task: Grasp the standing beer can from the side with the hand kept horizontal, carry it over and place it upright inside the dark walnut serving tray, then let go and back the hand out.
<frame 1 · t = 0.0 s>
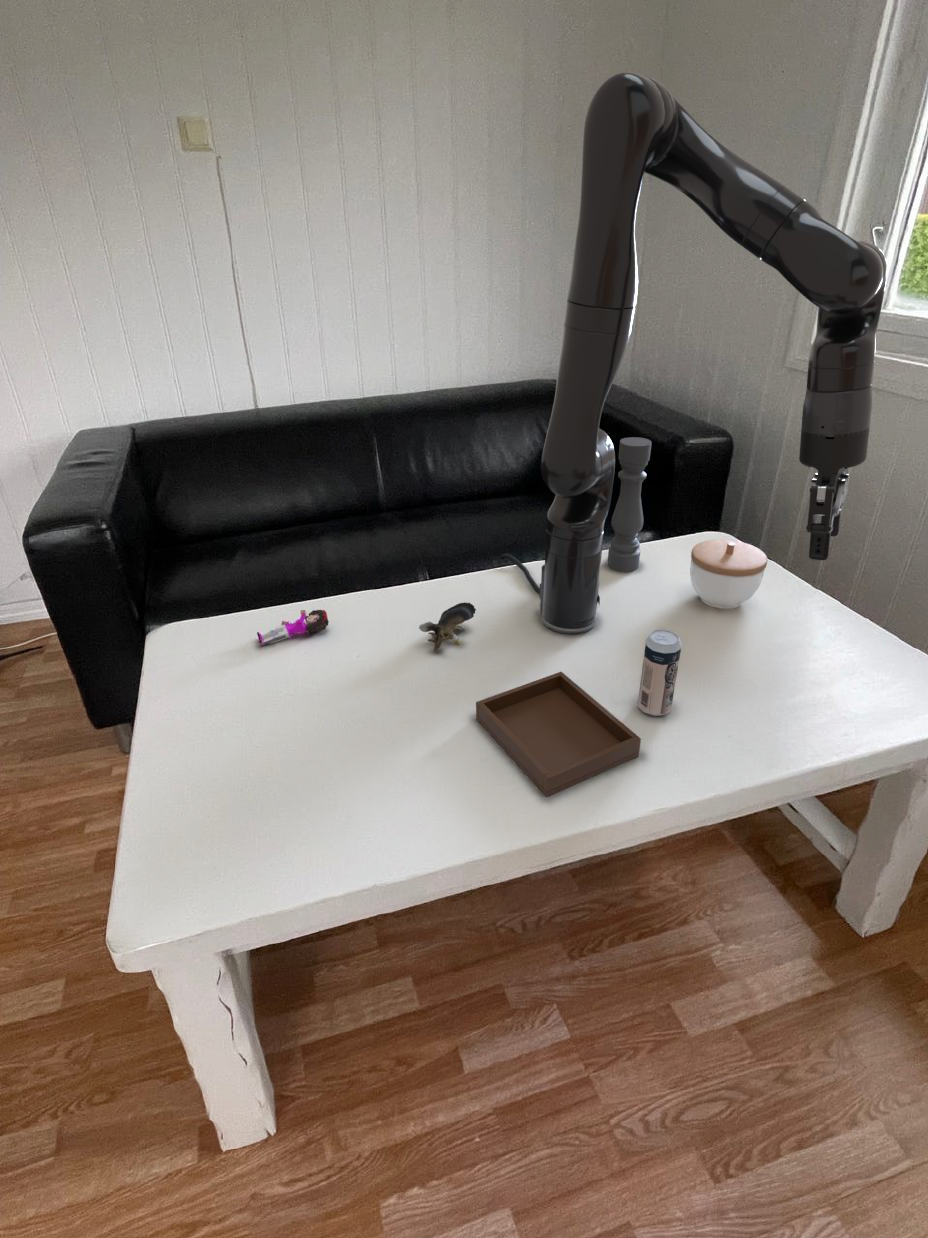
hand: (823, 546, 93), 22 cm above the table, tool pointing down, fingers open, 8 cm apart
character figurine: (294, 636, 119), on the table
tray: (554, 736, 95), on the table
brown irregular figure: (449, 641, 117), on the table
candle holder: (622, 566, 140), on the table
lidded bowl: (720, 600, 127), on the table
beer can: (653, 708, 100), on the table
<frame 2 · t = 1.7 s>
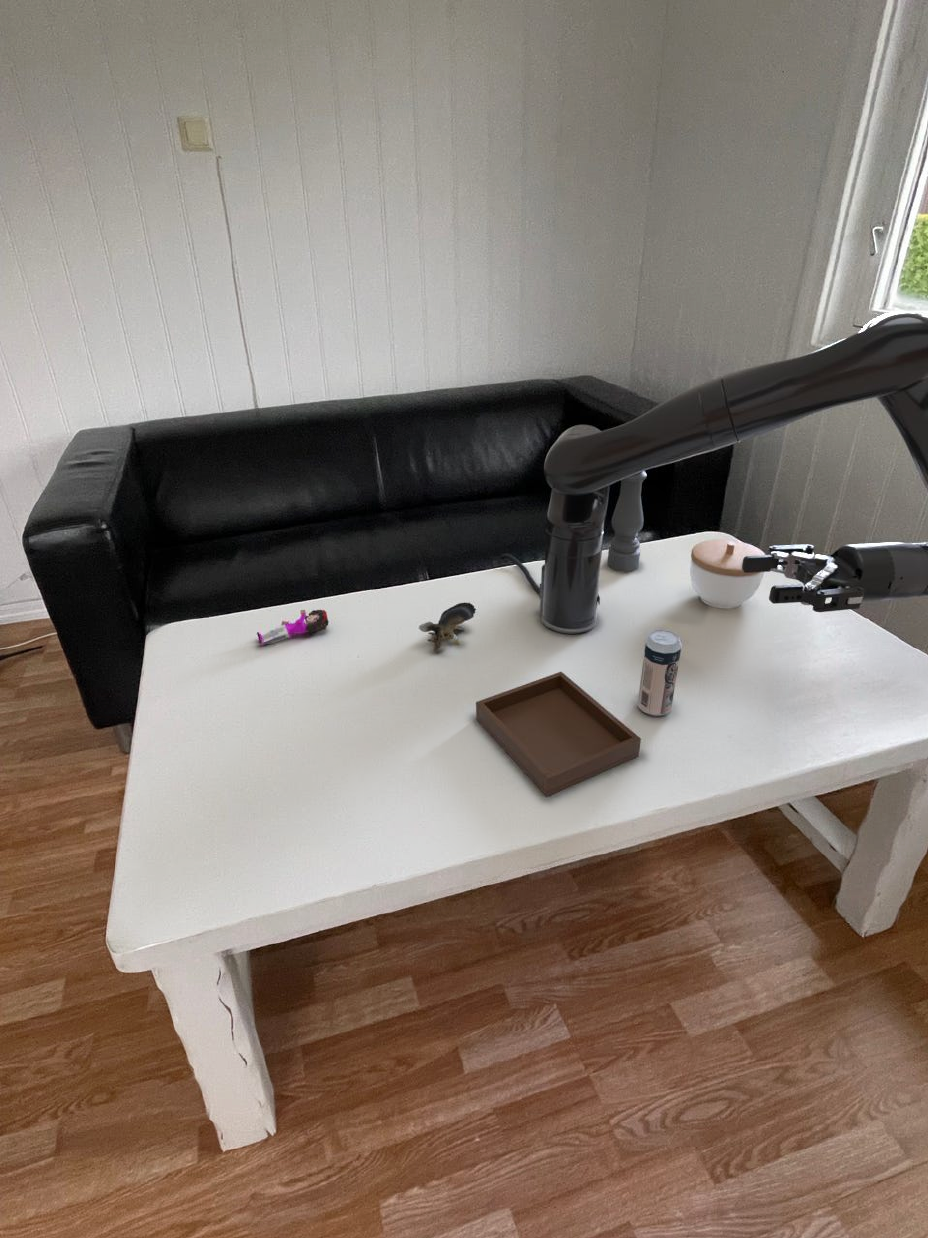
hand: (756, 579, 90), 20 cm above the table, tool horizontal, fingers open, 8 cm apart
nothing on the table moved.
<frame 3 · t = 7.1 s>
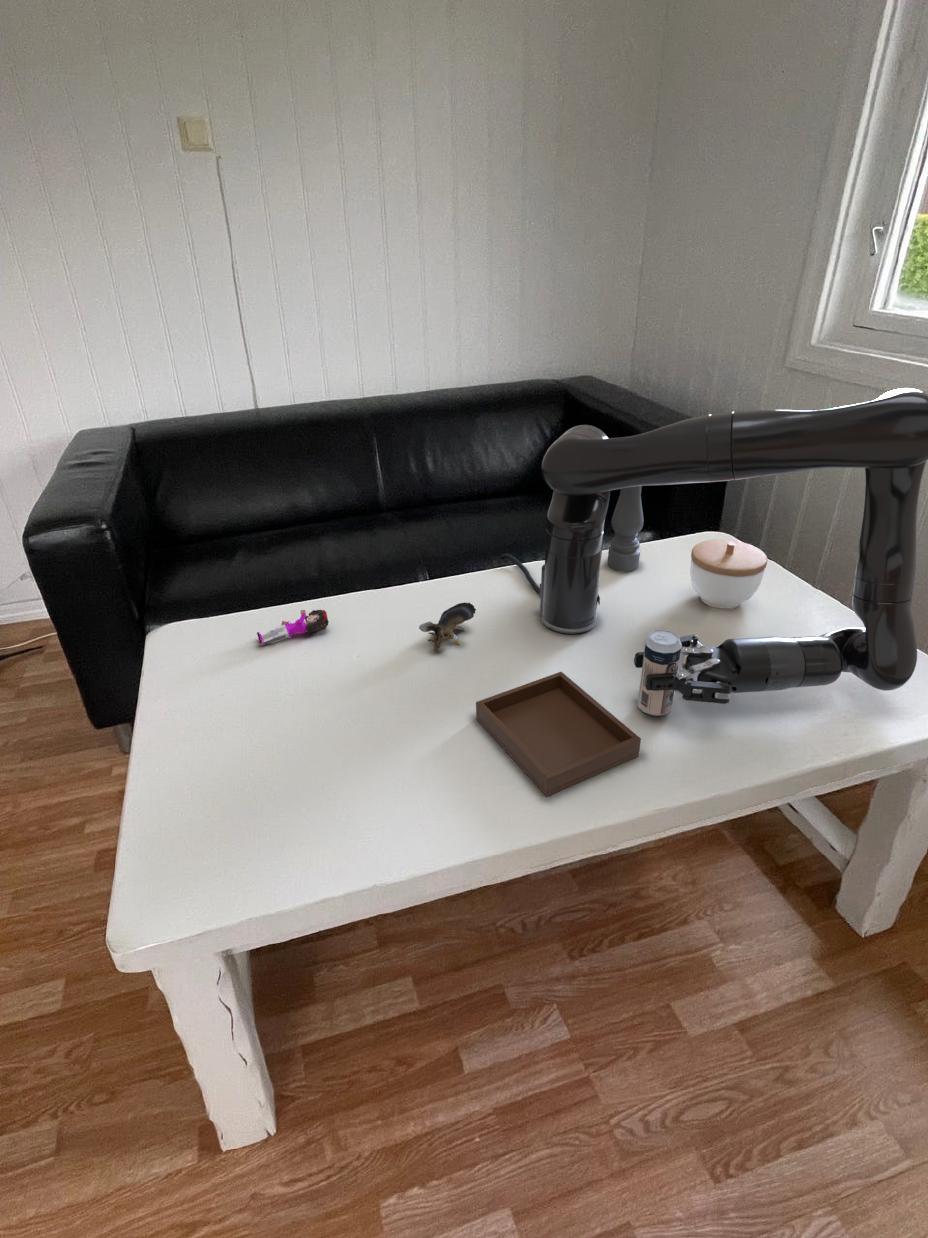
hand: (640, 671, 97), 7 cm above the table, tool horizontal, fingers closed on beer can, 4 cm apart
beer can: (653, 708, 100), on the table, touching gripper
everything else where it was.
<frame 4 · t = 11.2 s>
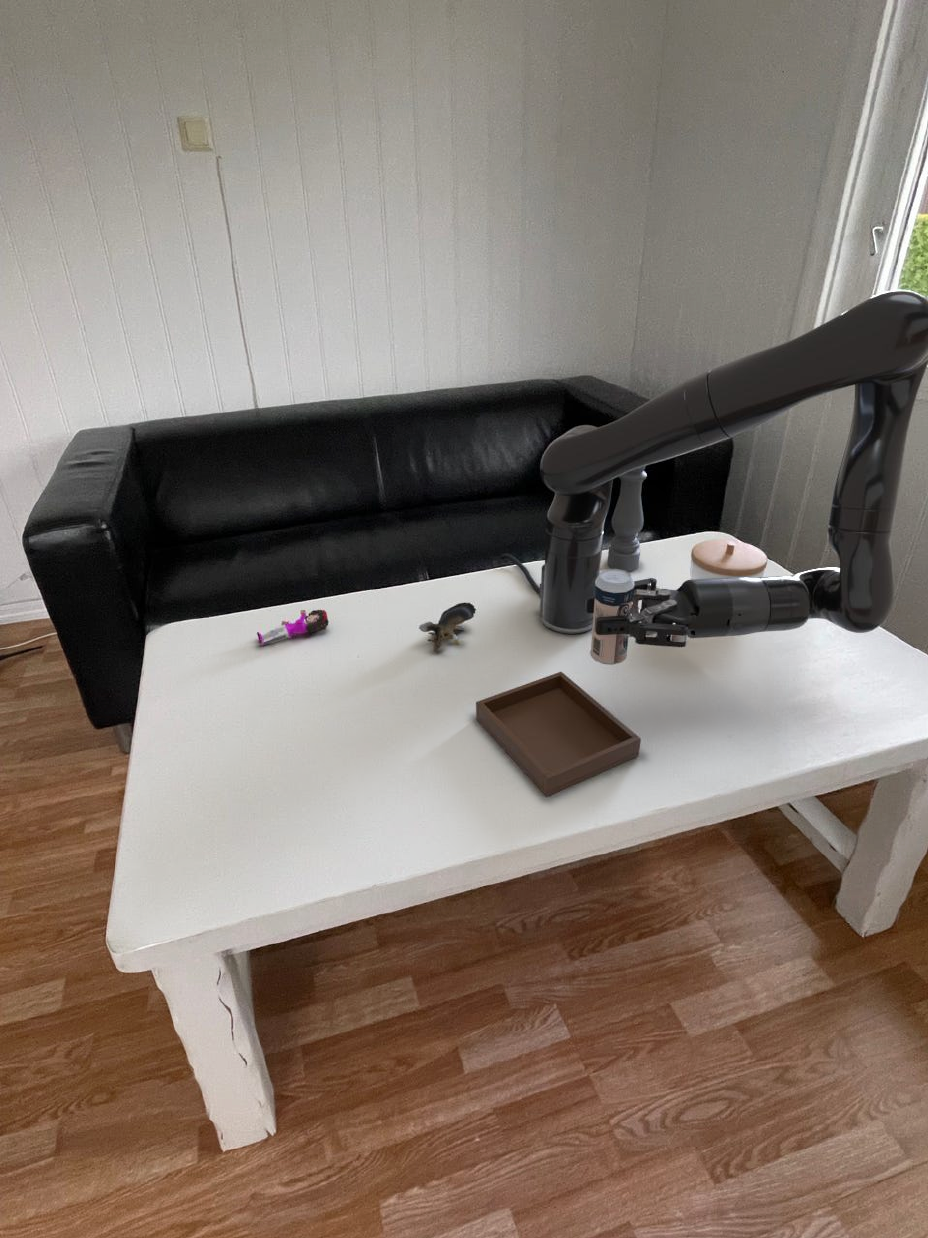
hand: (591, 615, 88), 18 cm above the table, tool horizontal, fingers closed on beer can, 4 cm apart
beer can: (608, 658, 92), point 11 cm above the table, touching gripper
everything else where it was.
when the fingers open (7 cm above the table, at t = 15.6 s): beer can stays where it is, resting on tray.
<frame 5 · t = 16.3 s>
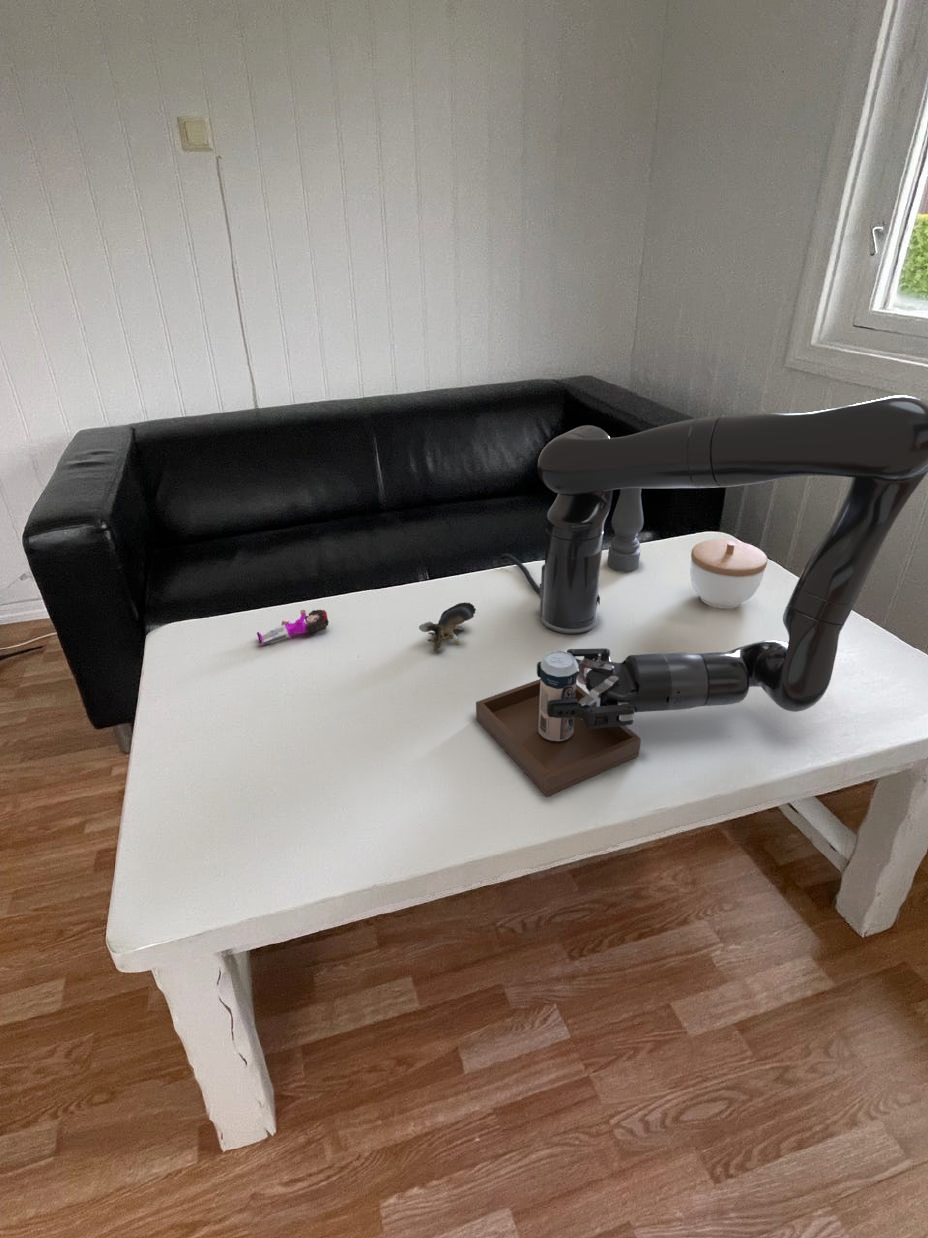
hand: (542, 688, 91), 8 cm above the table, tool horizontal, fingers open, 8 cm apart
beer can: (555, 733, 95), point 1 cm above the table, touching tray
everything else where it was.
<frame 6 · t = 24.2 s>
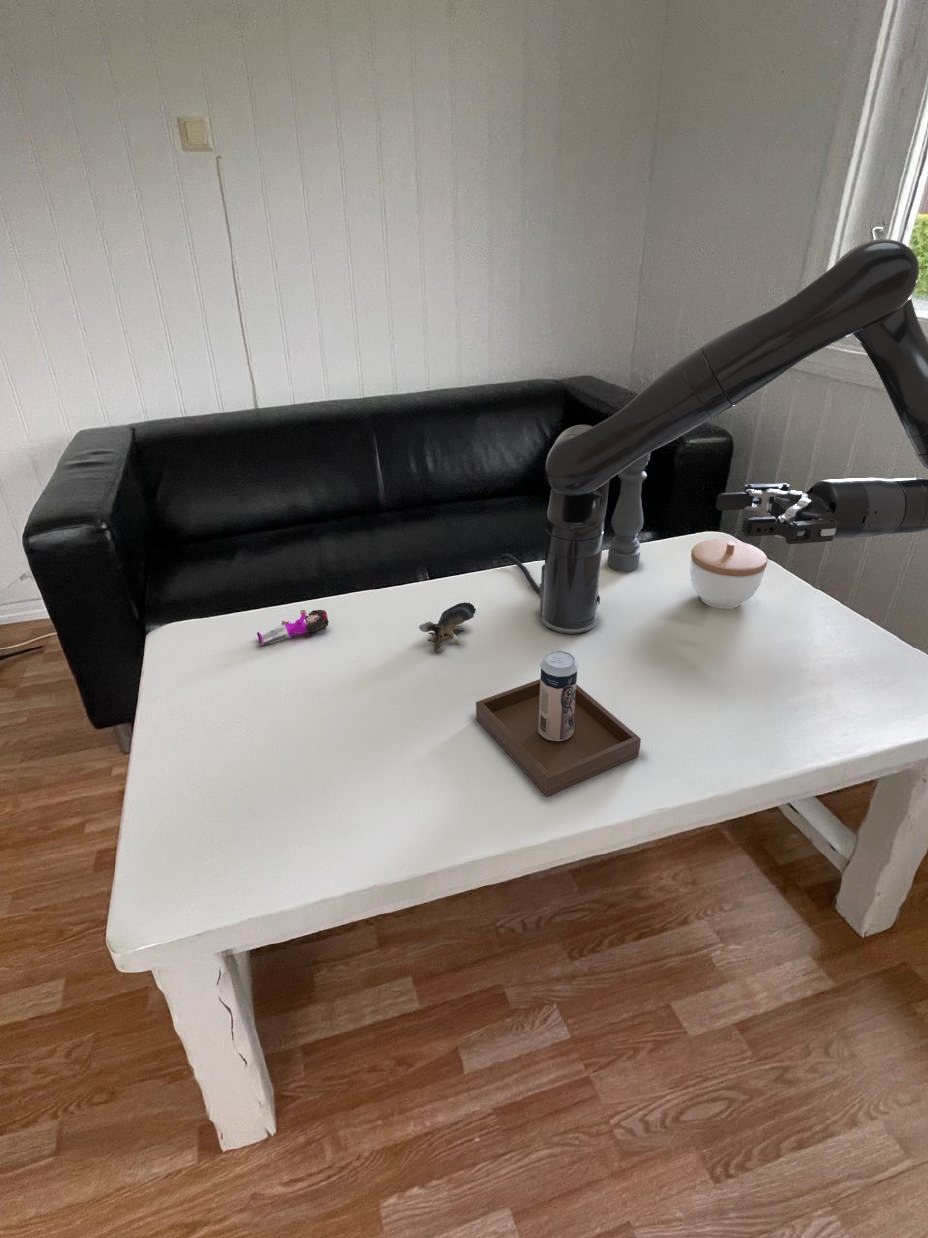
hand: (730, 514, 89), 28 cm above the table, tool horizontal, fingers open, 8 cm apart
nothing on the table moved.
at the end: beer can inside the target area in the tray (0.1 cm from its centre), point 0.6 cm above the tray's base; beer can tilted 0°; the gripper is holding nothing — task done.
